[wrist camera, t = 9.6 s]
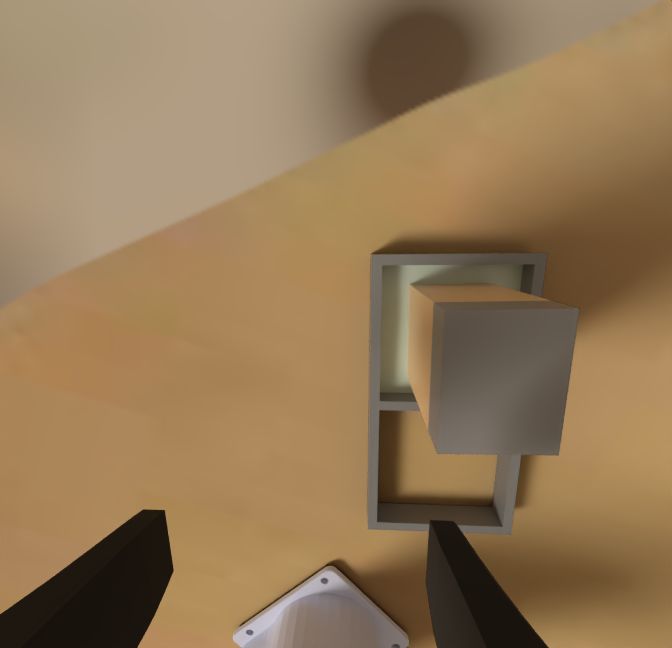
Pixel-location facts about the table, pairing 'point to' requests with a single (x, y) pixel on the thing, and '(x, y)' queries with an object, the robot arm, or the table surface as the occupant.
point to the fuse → (490, 367)
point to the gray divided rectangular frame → (396, 392)
